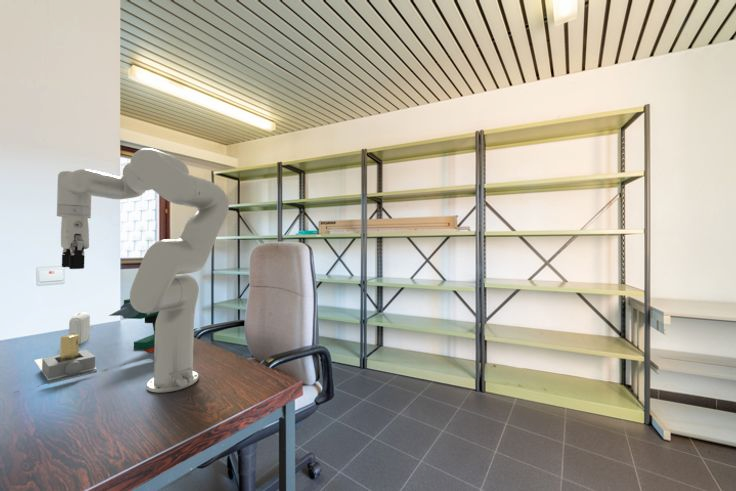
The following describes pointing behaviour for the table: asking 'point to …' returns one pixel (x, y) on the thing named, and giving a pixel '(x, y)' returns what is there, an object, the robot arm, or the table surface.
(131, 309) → the power tool
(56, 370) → the grey slotted block
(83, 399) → the table surface
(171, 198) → the robot arm
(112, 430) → the table surface
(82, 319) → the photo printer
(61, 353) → the tan rectangular block
